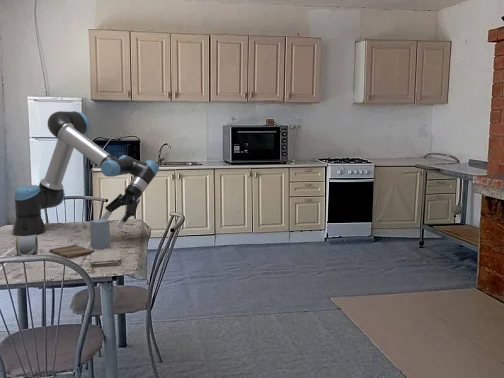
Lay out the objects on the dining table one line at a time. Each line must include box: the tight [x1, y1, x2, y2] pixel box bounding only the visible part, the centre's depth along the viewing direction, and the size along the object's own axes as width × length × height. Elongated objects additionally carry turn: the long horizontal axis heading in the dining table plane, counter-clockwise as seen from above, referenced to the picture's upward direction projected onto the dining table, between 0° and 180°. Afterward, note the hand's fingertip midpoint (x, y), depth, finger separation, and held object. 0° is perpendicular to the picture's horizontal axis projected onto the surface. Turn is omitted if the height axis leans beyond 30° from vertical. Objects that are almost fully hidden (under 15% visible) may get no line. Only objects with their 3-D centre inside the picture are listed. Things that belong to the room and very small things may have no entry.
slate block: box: [89, 218, 111, 250], centre depth 235 cm, size 6×6×12 cm
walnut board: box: [48, 244, 95, 260], centre depth 225 cm, size 16×12×1 cm
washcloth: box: [89, 249, 122, 268], centre depth 213 cm, size 12×18×3 cm, turn 17°
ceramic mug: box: [15, 235, 39, 256], centre depth 222 cm, size 11×8×8 cm
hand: (109, 225), depth 237 cm, fingers open, 13 cm apart
